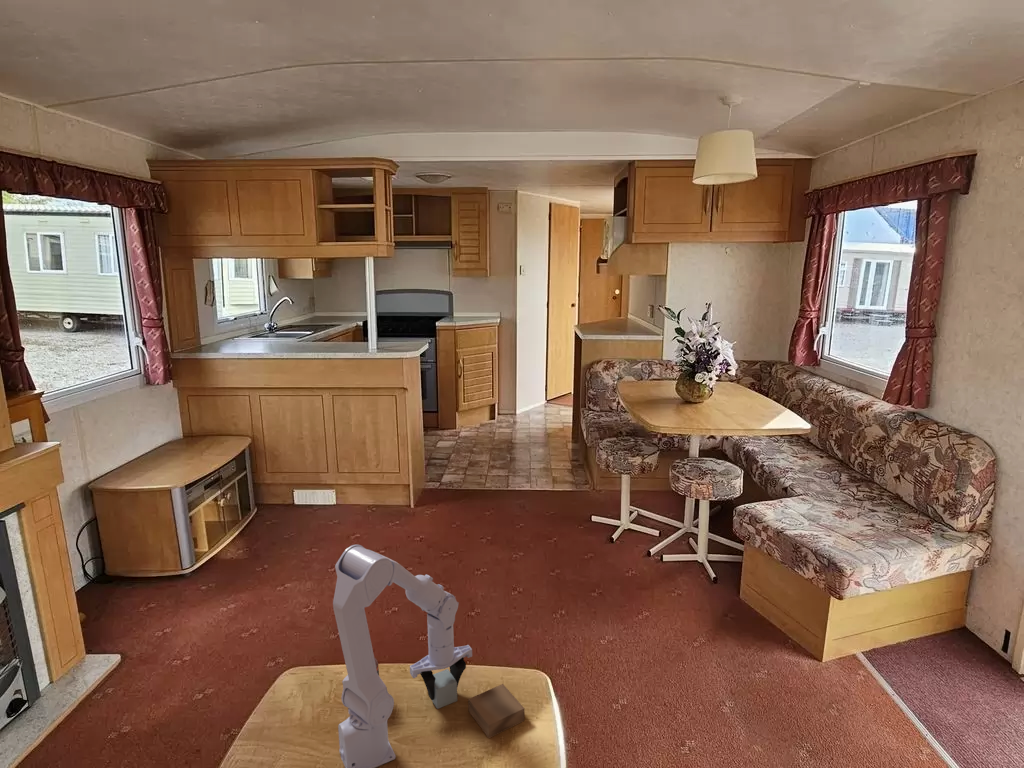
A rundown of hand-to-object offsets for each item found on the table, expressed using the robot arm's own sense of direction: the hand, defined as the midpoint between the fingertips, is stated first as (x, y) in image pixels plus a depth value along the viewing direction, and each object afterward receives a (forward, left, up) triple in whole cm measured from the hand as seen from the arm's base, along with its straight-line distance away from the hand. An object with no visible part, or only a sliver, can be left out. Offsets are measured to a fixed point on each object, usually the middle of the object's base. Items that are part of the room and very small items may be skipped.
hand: (442, 692), depth 135 cm
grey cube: (0, 0, -1) cm, 1 cm away
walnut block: (+8, -11, -2) cm, 14 cm away
